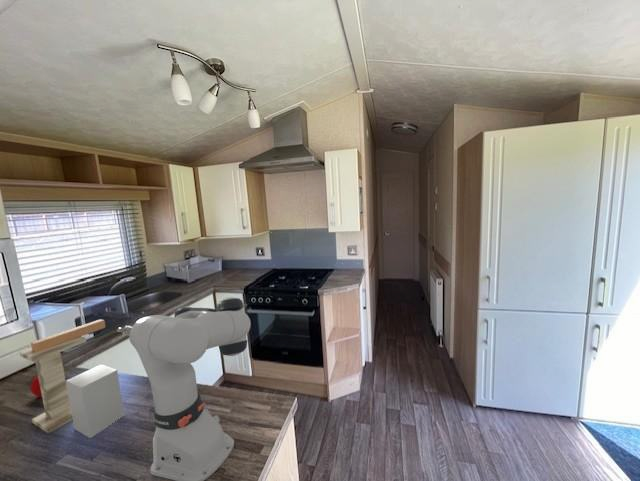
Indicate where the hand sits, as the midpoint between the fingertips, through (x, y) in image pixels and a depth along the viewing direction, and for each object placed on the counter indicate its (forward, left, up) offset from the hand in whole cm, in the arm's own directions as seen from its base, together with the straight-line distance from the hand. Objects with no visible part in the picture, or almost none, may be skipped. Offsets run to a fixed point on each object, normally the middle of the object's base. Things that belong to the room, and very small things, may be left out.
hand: (124, 331), depth 115 cm
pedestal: (-17, +20, -21) cm, 33 cm away
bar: (0, +17, +5) cm, 18 cm away
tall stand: (0, +22, -21) cm, 31 cm away
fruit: (+23, +19, -21) cm, 37 cm away
